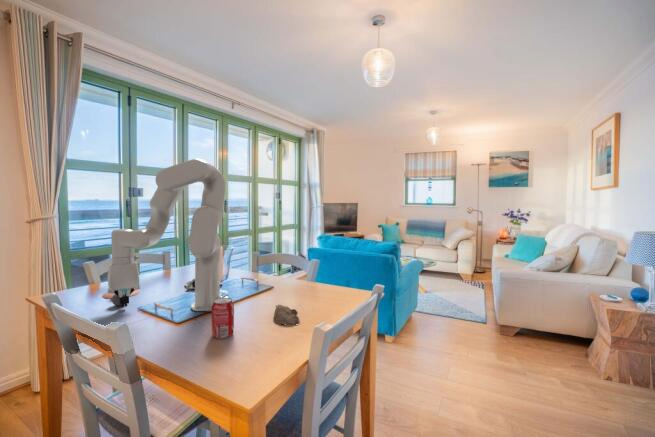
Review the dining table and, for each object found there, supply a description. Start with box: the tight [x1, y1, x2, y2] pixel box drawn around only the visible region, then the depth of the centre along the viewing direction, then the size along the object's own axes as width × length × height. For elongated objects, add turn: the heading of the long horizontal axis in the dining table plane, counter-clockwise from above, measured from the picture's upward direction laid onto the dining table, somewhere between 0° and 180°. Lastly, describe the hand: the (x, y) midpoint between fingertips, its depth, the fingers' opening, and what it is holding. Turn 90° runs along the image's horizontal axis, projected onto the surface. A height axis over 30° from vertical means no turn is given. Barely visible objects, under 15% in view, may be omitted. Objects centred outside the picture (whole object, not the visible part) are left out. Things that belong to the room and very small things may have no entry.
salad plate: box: [184, 277, 223, 292], centre depth 156 cm, size 19×18×5 cm
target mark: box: [102, 289, 140, 300], centre depth 139 cm, size 14×14×1 cm
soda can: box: [211, 296, 235, 340], centre depth 100 cm, size 7×7×12 cm
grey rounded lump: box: [111, 292, 125, 307], centre depth 124 cm, size 6×6×6 cm
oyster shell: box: [272, 304, 300, 326], centre depth 115 cm, size 10×12×5 cm
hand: (124, 305), depth 121 cm, fingers closed
